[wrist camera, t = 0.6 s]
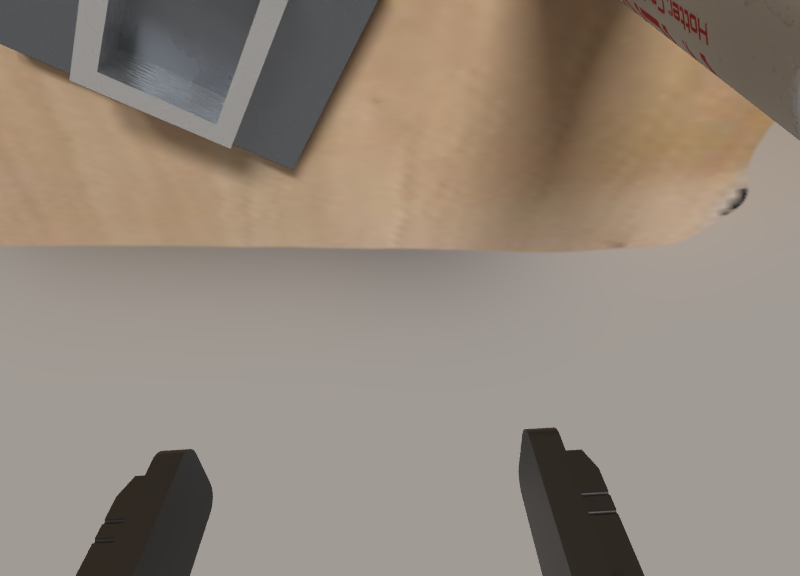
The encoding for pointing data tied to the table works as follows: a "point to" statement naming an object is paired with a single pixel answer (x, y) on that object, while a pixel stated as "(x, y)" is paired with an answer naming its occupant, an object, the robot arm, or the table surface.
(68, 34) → the collar plate
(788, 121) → the thermos bottle
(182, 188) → the table surface
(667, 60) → the table surface
